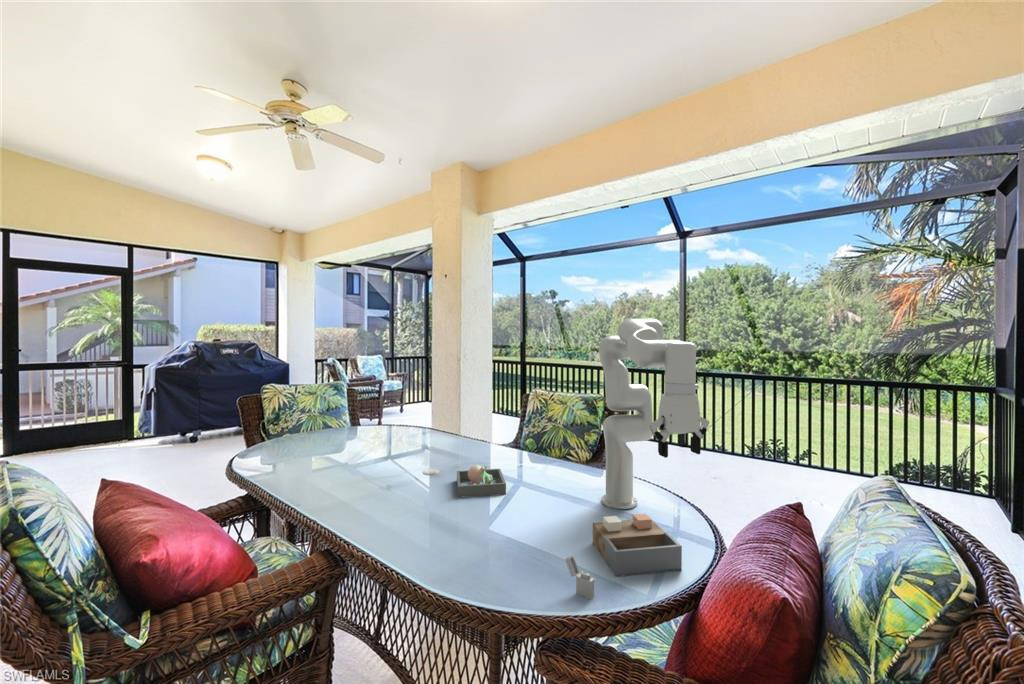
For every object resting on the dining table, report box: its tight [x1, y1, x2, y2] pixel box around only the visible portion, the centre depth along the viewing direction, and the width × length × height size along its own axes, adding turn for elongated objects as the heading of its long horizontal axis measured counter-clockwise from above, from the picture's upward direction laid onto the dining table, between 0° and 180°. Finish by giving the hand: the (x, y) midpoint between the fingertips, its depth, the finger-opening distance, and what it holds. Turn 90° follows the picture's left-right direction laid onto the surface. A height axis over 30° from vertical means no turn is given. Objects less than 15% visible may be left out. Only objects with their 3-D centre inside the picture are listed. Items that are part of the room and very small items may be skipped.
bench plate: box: [592, 519, 665, 561], centre depth 129 cm, size 10×18×6 cm, turn 99°
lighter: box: [564, 555, 595, 600], centre depth 109 cm, size 7×2×8 cm, turn 52°
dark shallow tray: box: [456, 468, 507, 498], centre depth 179 cm, size 18×18×4 cm
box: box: [604, 531, 683, 578], centre depth 120 cm, size 8×18×6 cm, turn 99°
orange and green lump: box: [466, 464, 494, 485], centre depth 179 cm, size 12×10×9 cm
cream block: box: [602, 515, 623, 532], centre depth 129 cm, size 4×4×2 cm
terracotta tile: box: [632, 513, 653, 529], centre depth 131 cm, size 4×4×2 cm
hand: (679, 454), depth 118 cm, fingers open, 9 cm apart
